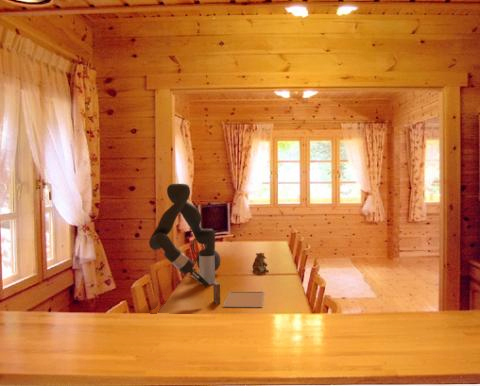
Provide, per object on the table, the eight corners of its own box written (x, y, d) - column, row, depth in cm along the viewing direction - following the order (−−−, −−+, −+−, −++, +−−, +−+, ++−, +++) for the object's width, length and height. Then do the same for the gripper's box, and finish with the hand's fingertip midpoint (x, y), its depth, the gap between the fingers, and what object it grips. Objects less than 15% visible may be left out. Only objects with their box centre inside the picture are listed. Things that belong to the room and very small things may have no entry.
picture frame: (262, 308, 205) (264, 293, 233) (262, 306, 205) (264, 291, 233) (222, 308, 207) (229, 293, 235) (222, 306, 207) (229, 291, 234)
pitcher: (218, 276, 274) (217, 230, 273) (190, 276, 277) (189, 230, 277) (222, 273, 285) (221, 228, 284) (194, 272, 288) (193, 228, 287)
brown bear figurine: (256, 274, 279) (256, 254, 279) (248, 270, 292) (247, 251, 292) (270, 272, 283) (270, 253, 283) (261, 269, 296) (261, 250, 296)
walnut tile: (216, 304, 213) (216, 284, 212) (213, 301, 218) (213, 281, 218) (220, 303, 213) (220, 284, 213) (217, 300, 219) (217, 281, 219)
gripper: (190, 259, 205) (215, 282, 209) (185, 255, 217) (209, 277, 221) (179, 271, 203) (205, 294, 207) (175, 266, 216) (199, 288, 220)
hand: (207, 285), depth 214 cm, fingers closed
